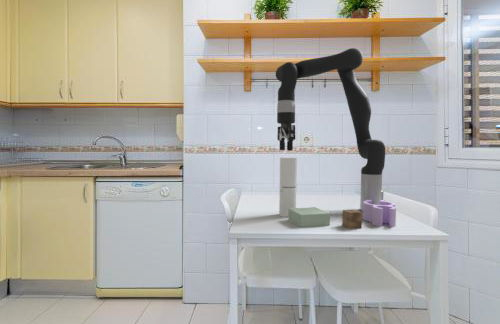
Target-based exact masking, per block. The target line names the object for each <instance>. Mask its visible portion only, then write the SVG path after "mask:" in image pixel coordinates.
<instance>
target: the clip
mask: <svg viewBox="0 0 500 324" xmlns="http://www.w3.org/2000/svg"><path fill="white" fill-rule="evenodd" d="M362 220H364V221H366V222H367V221H368V222H371V223H372V225H374V226H376V227H383V223H385V224H388V223H389V224H388V226H389V227H390V228H394V227H396V226H397V225H396V222H397V221H396V220H397V207H396V203H394V202H391V201H386V200H384V199H383V200H381V201H380V205H374V204H372V201H371V200H366V201H363V211H362Z"/></svg>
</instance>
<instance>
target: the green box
mask: <svg viewBox="0 0 500 324" xmlns="http://www.w3.org/2000/svg"><path fill="white" fill-rule="evenodd" d="M287 218H288V222H291V223H293V224H295V225H296V226H298V227H300V228H309V227H325V225H327V226H330V225H331V213H330V212H328V211H326V210H323V209H320V208H319V207H313V206H311V207H296V208H291V209H289V210H288V217H287Z"/></svg>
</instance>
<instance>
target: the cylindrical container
mask: <svg viewBox="0 0 500 324" xmlns="http://www.w3.org/2000/svg"><path fill="white" fill-rule="evenodd" d="M297 159H298V158H297V157H279V210H278V212H279V213H278V214H279V215H278V216H280V217H283V218H288V210H289V209H291V208H297V163H298V162H297V161H298V160H297Z"/></svg>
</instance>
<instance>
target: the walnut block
mask: <svg viewBox="0 0 500 324" xmlns="http://www.w3.org/2000/svg"><path fill="white" fill-rule="evenodd" d="M341 218H342V223H341V224H342V225H341V226H342V227H345V228H347V229H350V230H351V229H352V230H354V229H362V225H363V224H362V223H363V211H361V210H357V209H355V208H354V209H342V217H341Z"/></svg>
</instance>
